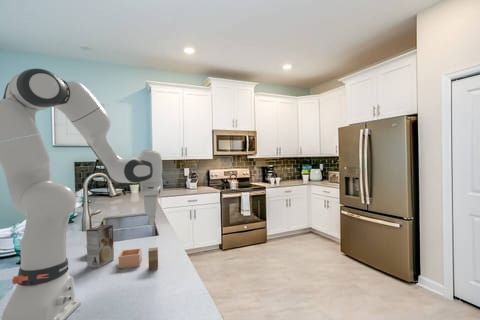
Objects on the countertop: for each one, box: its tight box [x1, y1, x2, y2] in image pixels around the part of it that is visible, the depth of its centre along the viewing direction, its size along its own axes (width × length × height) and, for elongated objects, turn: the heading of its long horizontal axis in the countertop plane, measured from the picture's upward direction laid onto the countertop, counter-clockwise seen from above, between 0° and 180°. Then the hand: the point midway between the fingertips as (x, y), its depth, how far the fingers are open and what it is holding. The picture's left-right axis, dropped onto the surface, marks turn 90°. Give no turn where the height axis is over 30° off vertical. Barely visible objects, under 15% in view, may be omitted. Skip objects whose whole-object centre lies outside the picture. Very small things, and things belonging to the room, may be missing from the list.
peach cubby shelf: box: [118, 248, 143, 269], centre depth 113 cm, size 8×8×5 cm
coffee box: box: [85, 224, 115, 268], centre depth 114 cm, size 9×6×16 cm
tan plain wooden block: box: [147, 247, 159, 271], centre depth 108 cm, size 4×4×8 cm
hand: (152, 222), depth 108 cm, fingers open, 8 cm apart
